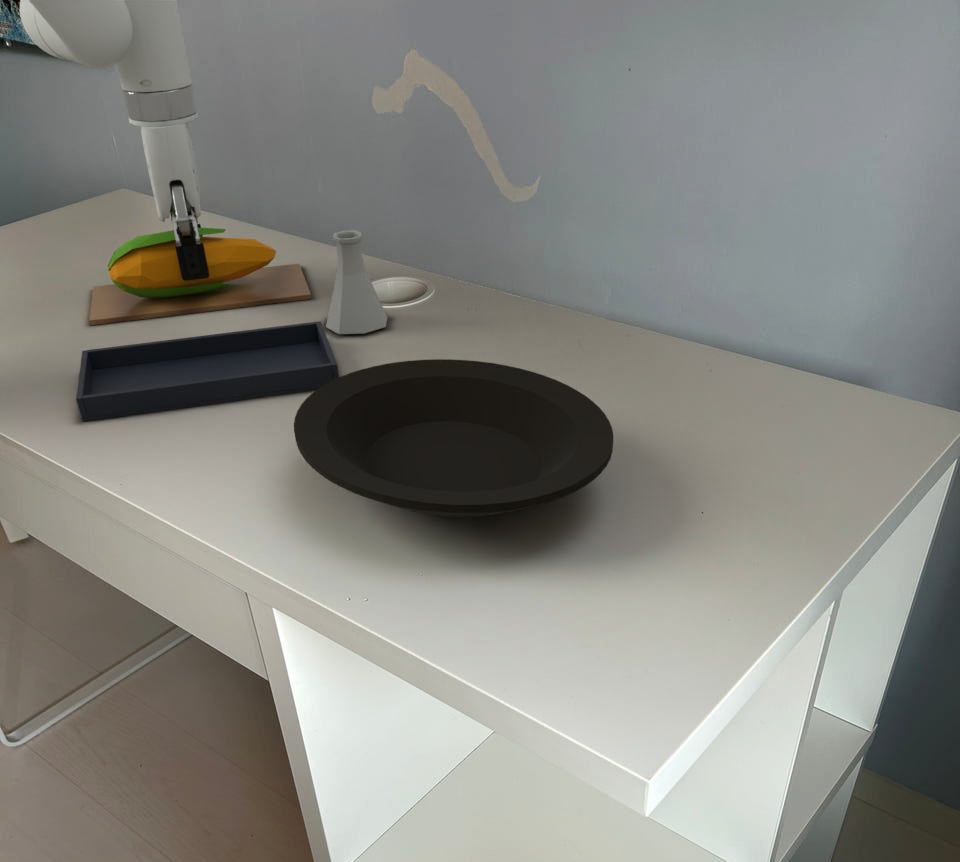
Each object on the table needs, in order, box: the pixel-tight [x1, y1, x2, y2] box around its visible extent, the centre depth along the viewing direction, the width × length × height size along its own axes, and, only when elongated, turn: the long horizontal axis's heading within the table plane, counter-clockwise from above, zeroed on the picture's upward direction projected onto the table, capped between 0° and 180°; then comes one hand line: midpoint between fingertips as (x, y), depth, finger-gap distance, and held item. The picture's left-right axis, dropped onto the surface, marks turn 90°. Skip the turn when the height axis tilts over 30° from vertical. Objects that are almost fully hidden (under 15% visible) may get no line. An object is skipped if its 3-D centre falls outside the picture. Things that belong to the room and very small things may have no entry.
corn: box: [107, 227, 277, 299], centre depth 119 cm, size 7×8×20 cm
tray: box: [75, 320, 340, 423], centre depth 102 cm, size 25×12×2 cm, turn 105°
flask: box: [325, 229, 388, 335], centre depth 110 cm, size 7×7×10 cm
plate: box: [293, 358, 614, 518], centre depth 82 cm, size 28×24×6 cm
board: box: [88, 263, 312, 326], centre depth 122 cm, size 26×12×1 cm, turn 105°
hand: (194, 267), depth 120 cm, fingers closed on corn, 6 cm apart
